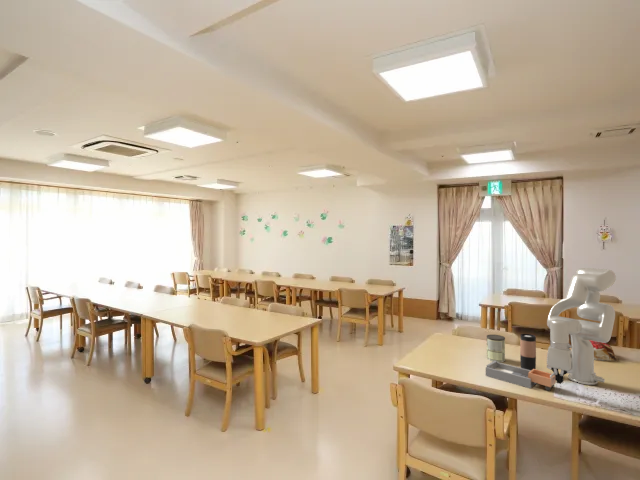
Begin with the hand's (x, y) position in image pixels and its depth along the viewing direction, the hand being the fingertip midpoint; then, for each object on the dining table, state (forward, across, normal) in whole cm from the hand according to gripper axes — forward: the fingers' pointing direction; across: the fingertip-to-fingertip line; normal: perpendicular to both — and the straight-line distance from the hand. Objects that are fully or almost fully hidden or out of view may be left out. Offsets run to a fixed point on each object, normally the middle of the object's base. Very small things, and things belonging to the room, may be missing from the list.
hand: (559, 382), depth 172 cm
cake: (+4, -1, -78) cm, 79 cm away
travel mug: (+4, +20, -19) cm, 28 cm away
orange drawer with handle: (+4, +8, 0) cm, 9 cm away
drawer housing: (+4, +22, 0) cm, 22 cm away
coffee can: (+4, +39, -25) cm, 47 cm away
